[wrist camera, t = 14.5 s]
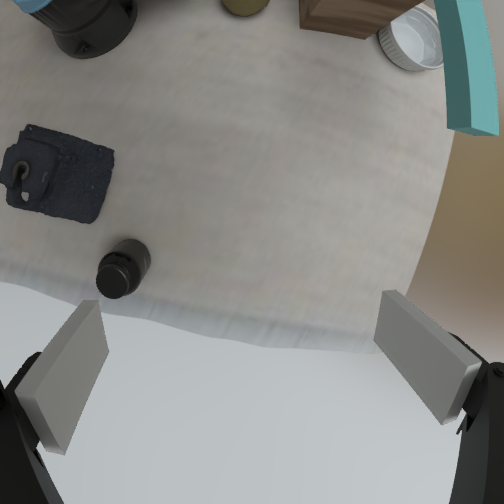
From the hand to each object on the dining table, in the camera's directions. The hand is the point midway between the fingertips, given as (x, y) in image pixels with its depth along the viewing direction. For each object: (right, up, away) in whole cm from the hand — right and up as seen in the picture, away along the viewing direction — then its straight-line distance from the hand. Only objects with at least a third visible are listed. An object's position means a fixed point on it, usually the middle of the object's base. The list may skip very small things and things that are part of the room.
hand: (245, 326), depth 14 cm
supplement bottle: (-20, +2, +38) cm, 43 cm away
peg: (+17, +24, +4) cm, 30 cm away
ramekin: (+29, +42, +32) cm, 60 cm away
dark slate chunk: (-33, +16, +33) cm, 50 cm away
